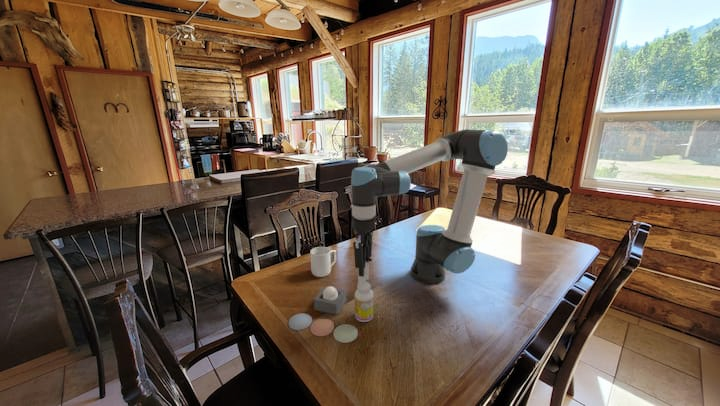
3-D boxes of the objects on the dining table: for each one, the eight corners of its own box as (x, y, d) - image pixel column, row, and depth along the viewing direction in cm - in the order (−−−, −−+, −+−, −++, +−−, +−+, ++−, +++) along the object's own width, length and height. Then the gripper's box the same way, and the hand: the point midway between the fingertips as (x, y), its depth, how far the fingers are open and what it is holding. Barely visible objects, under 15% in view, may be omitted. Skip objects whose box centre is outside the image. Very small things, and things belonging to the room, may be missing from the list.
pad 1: (316, 317, 101) (316, 316, 101) (304, 332, 94) (304, 331, 94) (296, 312, 104) (296, 311, 104) (283, 326, 97) (283, 325, 97)
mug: (315, 280, 125) (314, 257, 121) (308, 271, 132) (307, 249, 129) (340, 273, 130) (339, 251, 127) (332, 264, 138) (331, 243, 134)
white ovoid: (340, 299, 109) (340, 284, 107) (334, 308, 104) (333, 293, 102) (327, 297, 111) (326, 282, 109) (320, 305, 106) (319, 290, 104)
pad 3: (361, 328, 96) (361, 327, 96) (352, 345, 89) (352, 344, 89) (339, 323, 99) (339, 322, 98) (329, 339, 91) (329, 338, 91)
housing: (346, 300, 111) (346, 290, 109) (336, 315, 102) (336, 304, 101) (325, 295, 114) (324, 286, 112) (314, 309, 105) (313, 299, 104)
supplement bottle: (354, 311, 105) (353, 280, 101) (372, 310, 105) (372, 279, 101) (355, 323, 98) (355, 291, 95) (374, 322, 99) (374, 290, 95)
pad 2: (338, 322, 99) (337, 321, 99) (327, 338, 91) (327, 337, 91) (317, 317, 101) (317, 316, 101) (305, 332, 94) (305, 331, 94)
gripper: (360, 208, 99) (360, 268, 106) (343, 222, 85) (344, 291, 92) (381, 210, 97) (380, 271, 103) (367, 225, 83) (366, 295, 90)
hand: (363, 280), depth 98 cm, fingers open, 2 cm apart
